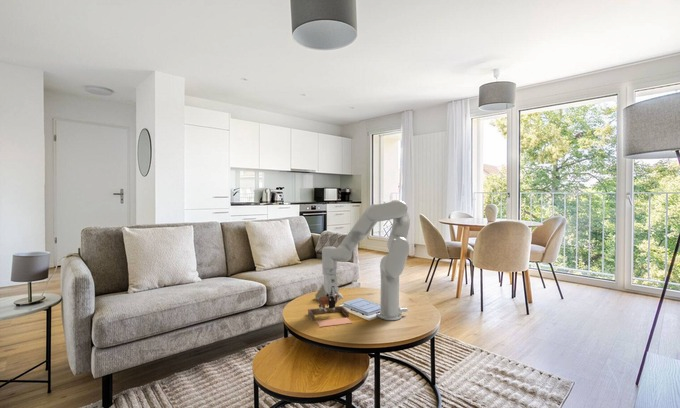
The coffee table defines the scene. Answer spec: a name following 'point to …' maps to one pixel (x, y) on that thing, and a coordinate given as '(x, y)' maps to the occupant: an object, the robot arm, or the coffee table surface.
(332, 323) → the mat
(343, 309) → the stall
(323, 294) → the fossil tooth
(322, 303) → the bull figurine
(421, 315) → the coffee table surface
